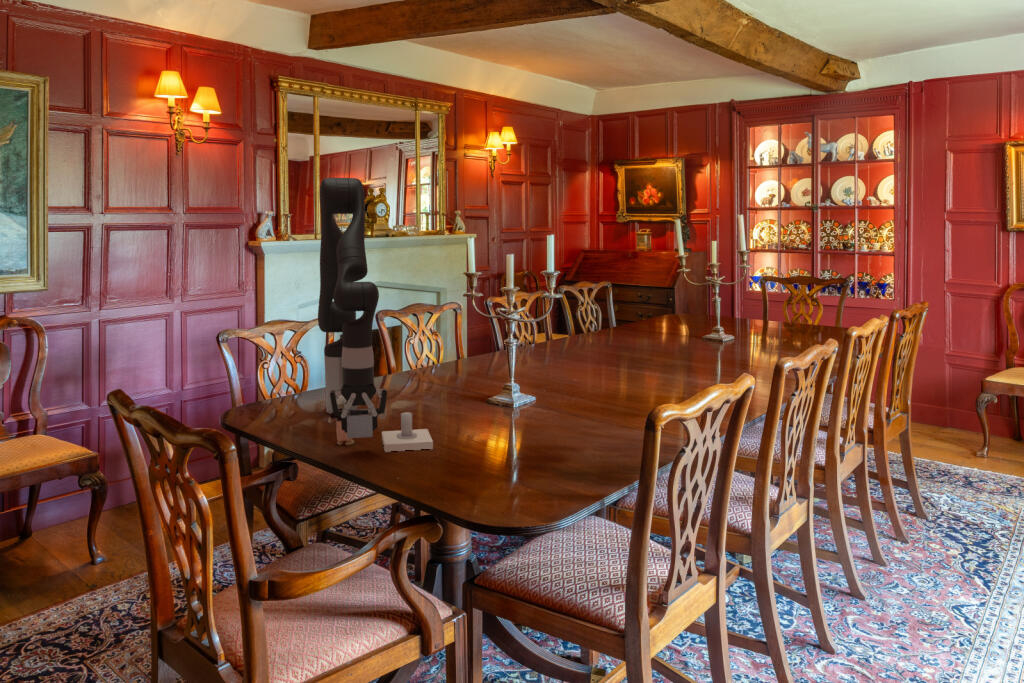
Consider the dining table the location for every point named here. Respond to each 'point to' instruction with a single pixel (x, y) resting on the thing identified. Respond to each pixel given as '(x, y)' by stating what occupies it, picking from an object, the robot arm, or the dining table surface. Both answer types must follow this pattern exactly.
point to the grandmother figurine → (340, 433)
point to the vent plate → (406, 437)
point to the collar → (359, 423)
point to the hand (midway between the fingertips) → (359, 430)
